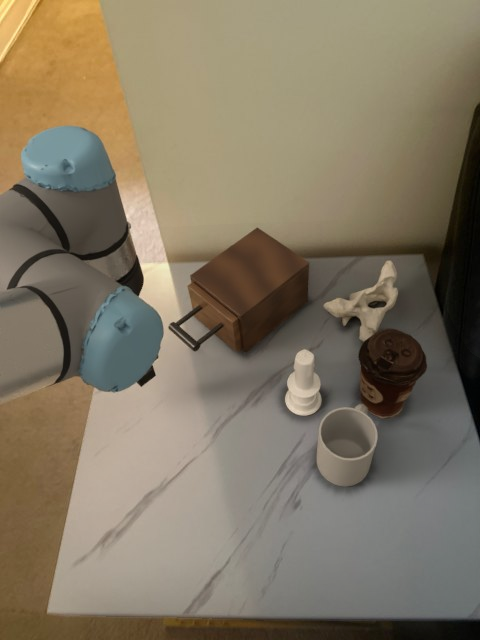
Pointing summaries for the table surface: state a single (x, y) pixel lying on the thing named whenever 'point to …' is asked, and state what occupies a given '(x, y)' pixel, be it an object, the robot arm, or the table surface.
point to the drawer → (209, 320)
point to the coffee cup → (389, 370)
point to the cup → (346, 445)
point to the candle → (303, 386)
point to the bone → (368, 296)
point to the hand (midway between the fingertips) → (145, 378)
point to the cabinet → (256, 284)
